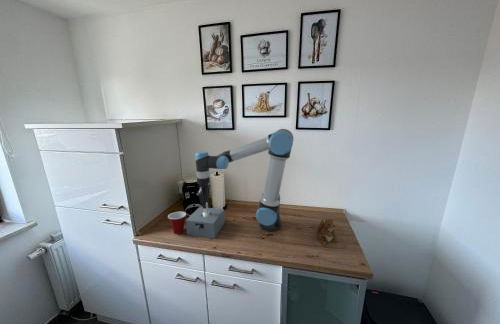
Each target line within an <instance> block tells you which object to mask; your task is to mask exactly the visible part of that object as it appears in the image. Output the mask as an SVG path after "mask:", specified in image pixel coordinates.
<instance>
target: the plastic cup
mask: <svg viewBox="0 0 500 324" xmlns="http://www.w3.org/2000/svg"><path fill="white" fill-rule="evenodd" d="M186 216H187V213H186V211H174V212H172V213H169V214H168V215H167V219H168V220H169V221H170V225H171V228H172V231H173V233H174V235H181V234H182V233H183V232H184V230H185V229H184V228H185V223H186Z"/></svg>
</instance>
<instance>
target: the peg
mask: <svg viewBox="0 0 500 324" xmlns="http://www.w3.org/2000/svg"><path fill="white" fill-rule="evenodd" d="M209 216H210V212H209V211H208V213H203V217H209Z"/></svg>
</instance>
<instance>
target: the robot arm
mask: <svg viewBox="0 0 500 324" xmlns="http://www.w3.org/2000/svg"><path fill="white" fill-rule="evenodd" d="M293 144H294V135H293V133H292V132H291V130H288V129H286V128H280V129H278V130H276V131H274V132H272V133H270V134H268V135H267V136H266V137H263V138H260V139H257V140H254V141H252V142H249V143H246V144H244V145H241V146H237V147H235V148H232V149H230V150H225V151H222V153H220V154H217V155H209V152H208V151H198V152H196V153H195V154H194V155H195V169H196V172H195V173H196V177H197V178H196V183H197V184H198V185H199V190H197V195H198V198H199V203H200V204H201V205H202V207H203V213H208V208H209V205H208V204H209V203H210V187H211V184H210V183H211V178H210V169H216V170H226V169H228V167H229V163H232V162H235V161H238V160H241V159H242V160H243V159H244V158H247V157H252V156H253V155H256V154H257V155H258V154H261V153H263V152H266V151H267V152H268V153H267V155H268V156H269V162H268V168H267V172H266V179H265V184H264V189H263V192H262V194H261V197H260V198H259V201H258V206H257V210H256V211H255V212H256V213H255V217H256V220H257V221H258V226H259V228H260V229H261V230H263V231H265V232H277V231H279V230H281V229H282V227H283V223H282V222H283V221H282V219H281V215H280V213H281V211H280V209H281V208H280V207H281V205H280V204H281V194H280V192H281V186H282V182H283V177H284V171H285V167H286V163H287V160H289V159H290V157H291V153H292V148H293Z"/></svg>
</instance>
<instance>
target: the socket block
mask: <svg viewBox="0 0 500 324" xmlns="http://www.w3.org/2000/svg"><path fill="white" fill-rule="evenodd" d="M214 208H215V207H208V211H209V212H210V216H209V217H203V206H199V207H198V208H197V209H196V210H195V211H194V212H193V213H191V214H190V216H189V217H187V218H185V225H186V235H187V236H193V237H194V236H195V237H201V238H207V239H215V238H216V236H217V235H218V233H220V230H221V229H222V227H223V226H224V225H225V224H226V223H225V219H226V218H225V209H222V208H215V209H214ZM199 224H203V225H202V226H201V227H200V230H199V231H197V230H195V226H198V225H199Z"/></svg>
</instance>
